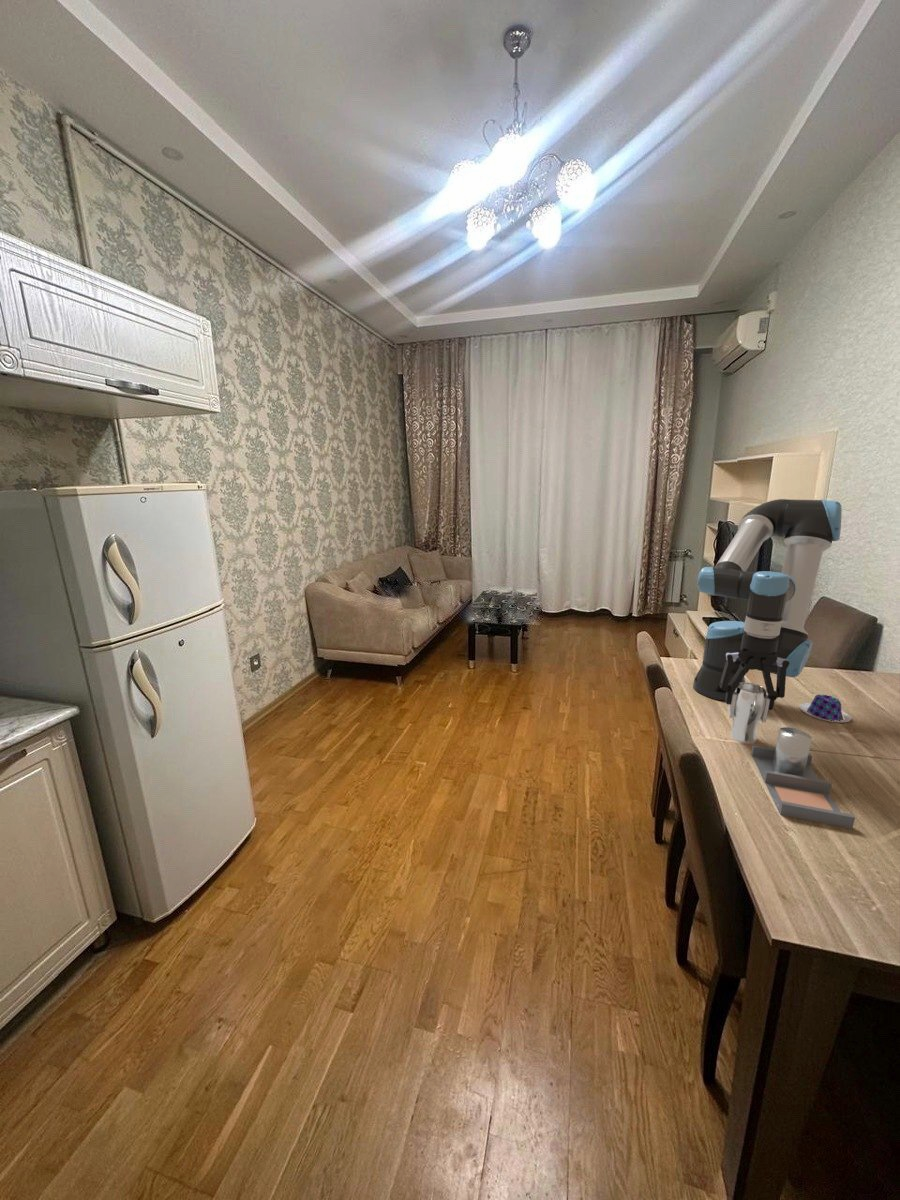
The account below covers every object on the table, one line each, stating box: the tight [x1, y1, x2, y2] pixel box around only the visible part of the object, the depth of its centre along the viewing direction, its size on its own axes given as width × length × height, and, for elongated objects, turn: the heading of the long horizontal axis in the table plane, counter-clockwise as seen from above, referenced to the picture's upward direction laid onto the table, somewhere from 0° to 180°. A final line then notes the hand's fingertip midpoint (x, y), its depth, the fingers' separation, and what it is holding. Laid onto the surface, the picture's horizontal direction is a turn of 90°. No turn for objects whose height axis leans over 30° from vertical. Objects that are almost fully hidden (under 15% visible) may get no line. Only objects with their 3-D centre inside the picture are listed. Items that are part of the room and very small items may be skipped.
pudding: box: [799, 694, 852, 723], centre depth 137 cm, size 12×12×5 cm
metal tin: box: [772, 726, 813, 777], centre depth 107 cm, size 6×6×10 cm
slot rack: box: [750, 744, 856, 830], centre depth 103 cm, size 23×12×3 cm, turn 161°
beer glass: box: [729, 681, 767, 744], centre depth 121 cm, size 7×7×15 cm
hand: (746, 717), depth 122 cm, fingers closed on beer glass, 7 cm apart
